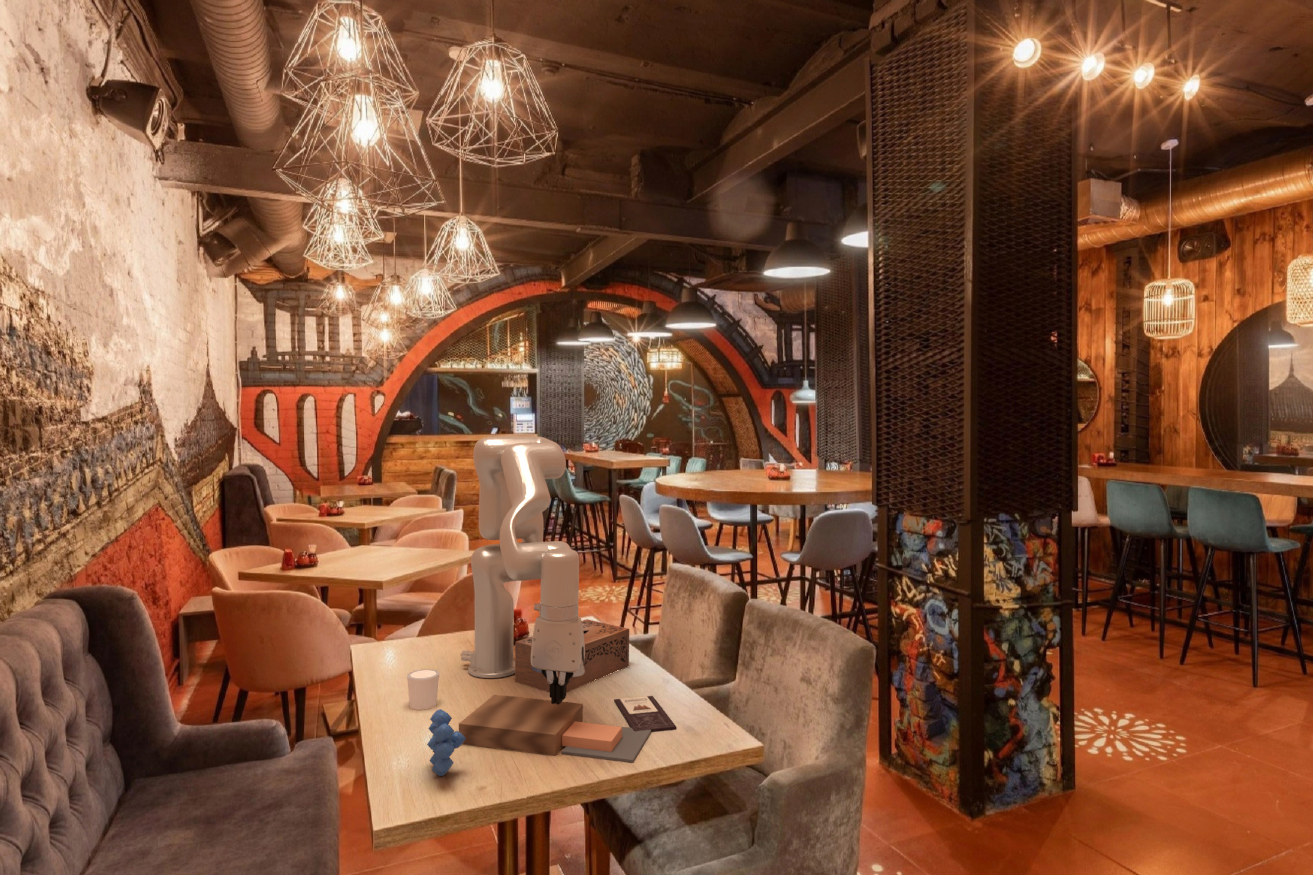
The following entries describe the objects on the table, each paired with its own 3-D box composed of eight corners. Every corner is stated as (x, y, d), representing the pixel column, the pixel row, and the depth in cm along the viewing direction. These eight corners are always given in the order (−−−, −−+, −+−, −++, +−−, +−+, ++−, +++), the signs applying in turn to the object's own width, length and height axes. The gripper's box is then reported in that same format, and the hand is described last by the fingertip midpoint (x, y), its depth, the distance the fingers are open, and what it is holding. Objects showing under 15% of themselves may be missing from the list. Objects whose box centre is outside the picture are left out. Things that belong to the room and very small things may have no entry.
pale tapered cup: (445, 701, 172) (445, 670, 172) (427, 712, 166) (427, 680, 166) (419, 697, 174) (419, 667, 174) (400, 708, 168) (400, 676, 168)
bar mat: (561, 753, 147) (561, 751, 147) (585, 725, 160) (585, 722, 160) (632, 762, 143) (632, 759, 143) (651, 732, 157) (651, 729, 157)
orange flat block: (561, 745, 149) (562, 735, 149) (574, 731, 156) (574, 721, 156) (611, 751, 147) (611, 741, 147) (621, 736, 153) (622, 726, 153)
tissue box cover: (586, 656, 206) (587, 619, 206) (628, 667, 198) (629, 628, 197) (515, 682, 185) (515, 641, 185) (558, 696, 177) (559, 653, 177)
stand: (458, 743, 151) (458, 723, 150) (494, 712, 166) (494, 694, 166) (555, 755, 146) (555, 734, 146) (582, 722, 161) (582, 703, 161)
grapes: (471, 785, 134) (472, 717, 134) (431, 792, 131) (431, 723, 131) (460, 757, 145) (460, 694, 144) (422, 763, 142) (422, 699, 142)
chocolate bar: (634, 731, 156) (614, 699, 173) (634, 735, 156) (614, 703, 174) (676, 726, 159) (652, 695, 176) (676, 731, 159) (652, 699, 176)
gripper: (516, 613, 152) (515, 704, 153) (589, 620, 148) (587, 713, 149) (531, 603, 159) (530, 690, 160) (600, 609, 155) (599, 698, 157)
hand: (557, 701), depth 155 cm, fingers closed
